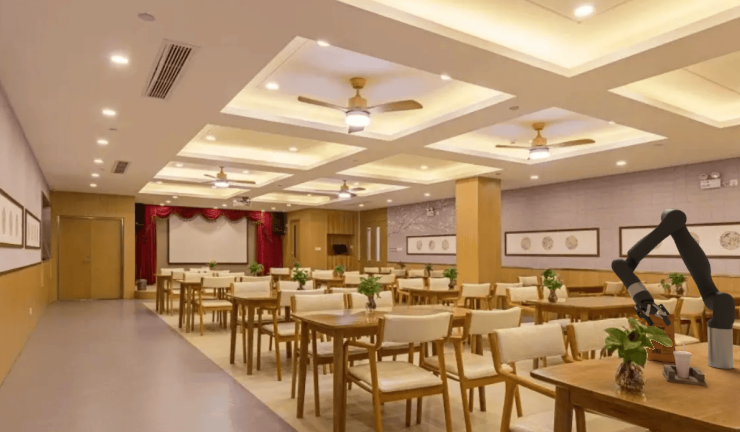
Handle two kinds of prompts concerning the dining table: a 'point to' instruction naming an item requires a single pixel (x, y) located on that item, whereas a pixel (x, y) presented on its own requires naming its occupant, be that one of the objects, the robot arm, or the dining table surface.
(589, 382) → the dining table surface
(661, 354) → the coffee package
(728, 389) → the dining table surface
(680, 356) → the smoothie
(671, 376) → the grey open-sided tray
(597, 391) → the dining table surface
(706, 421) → the dining table surface
